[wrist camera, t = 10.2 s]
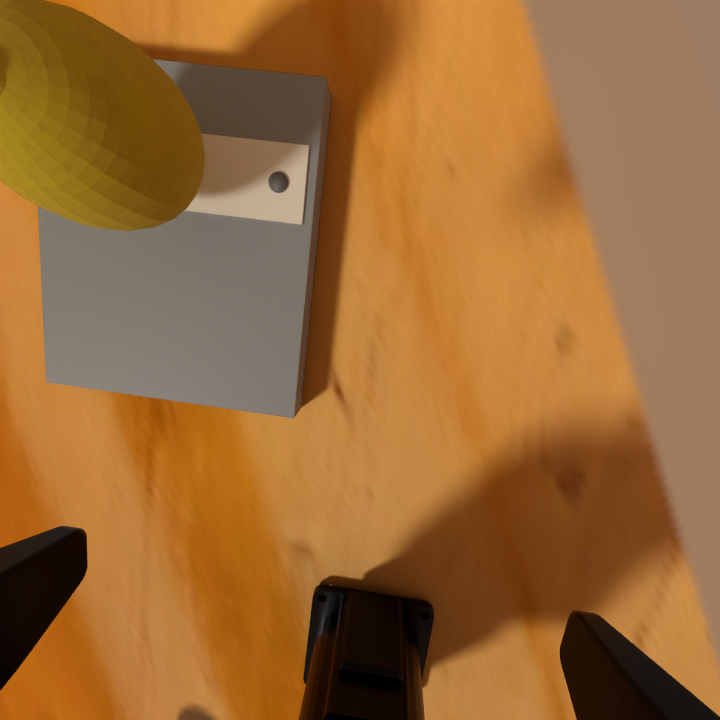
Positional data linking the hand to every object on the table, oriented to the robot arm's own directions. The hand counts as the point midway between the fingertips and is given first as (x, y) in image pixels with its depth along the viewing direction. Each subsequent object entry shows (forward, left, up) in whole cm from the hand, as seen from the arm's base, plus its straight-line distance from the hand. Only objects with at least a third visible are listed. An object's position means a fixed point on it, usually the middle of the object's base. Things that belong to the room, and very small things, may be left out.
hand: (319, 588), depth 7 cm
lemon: (+9, +9, -11) cm, 16 cm away
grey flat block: (+6, +9, -12) cm, 16 cm away
